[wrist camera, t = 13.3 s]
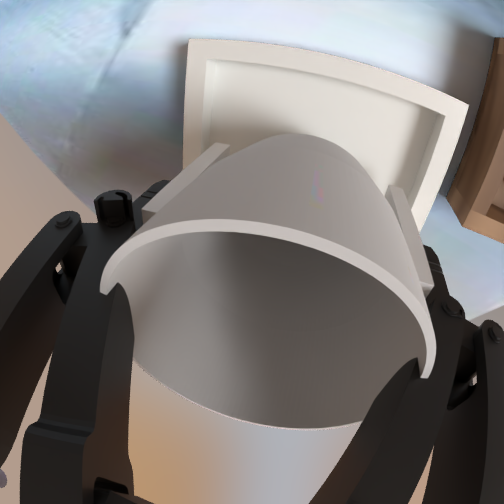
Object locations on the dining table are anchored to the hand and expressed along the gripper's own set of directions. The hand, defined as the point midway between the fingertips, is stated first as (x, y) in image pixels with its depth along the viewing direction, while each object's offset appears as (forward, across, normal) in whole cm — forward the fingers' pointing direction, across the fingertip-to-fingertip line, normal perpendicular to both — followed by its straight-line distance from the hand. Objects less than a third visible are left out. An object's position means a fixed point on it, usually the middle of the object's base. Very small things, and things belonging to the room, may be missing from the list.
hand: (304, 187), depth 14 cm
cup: (0, 0, 0) cm, 0 cm away
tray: (+2, 0, 0) cm, 2 cm away
